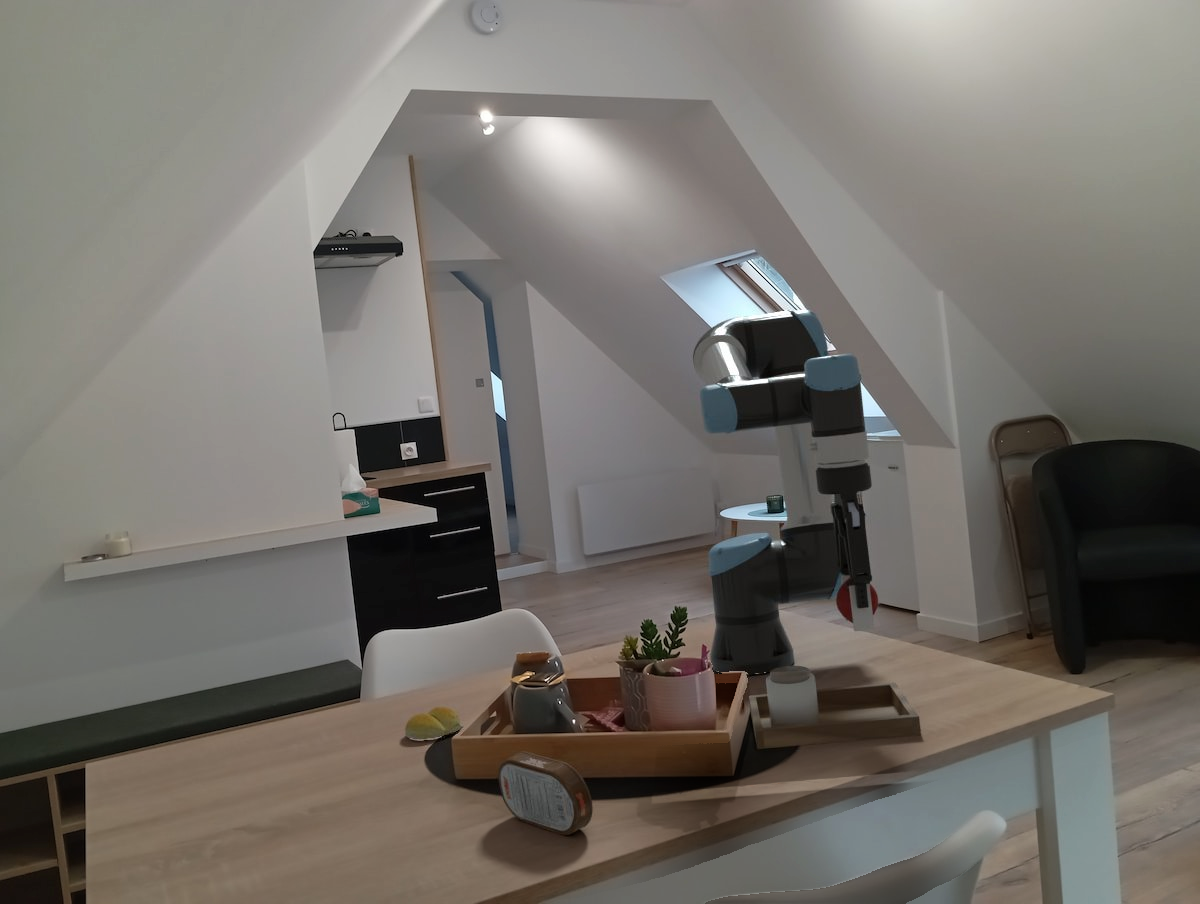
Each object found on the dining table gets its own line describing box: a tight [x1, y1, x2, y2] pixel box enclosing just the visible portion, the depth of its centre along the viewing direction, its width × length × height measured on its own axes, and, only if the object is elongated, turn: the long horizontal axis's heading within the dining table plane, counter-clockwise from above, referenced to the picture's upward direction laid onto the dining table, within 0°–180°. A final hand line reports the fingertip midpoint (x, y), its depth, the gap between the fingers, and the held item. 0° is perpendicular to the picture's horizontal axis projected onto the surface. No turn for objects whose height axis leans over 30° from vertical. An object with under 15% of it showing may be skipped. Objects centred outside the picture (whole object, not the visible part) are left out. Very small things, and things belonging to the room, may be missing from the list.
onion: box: [835, 577, 879, 624], centre depth 142 cm, size 6×6×8 cm
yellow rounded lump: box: [404, 706, 463, 739], centre depth 164 cm, size 8×9×4 cm
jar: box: [765, 665, 820, 727], centre depth 144 cm, size 7×7×8 cm
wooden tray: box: [748, 681, 922, 750], centre depth 143 cm, size 16×22×4 cm
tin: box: [497, 750, 594, 836], centre depth 122 cm, size 15×3×8 cm, turn 44°
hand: (859, 624), depth 142 cm, fingers closed on onion, 6 cm apart
